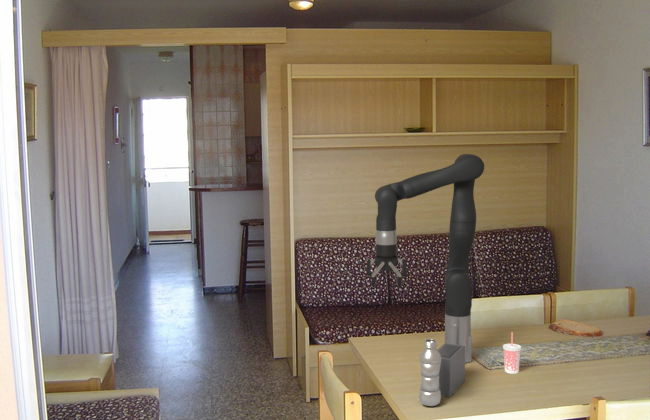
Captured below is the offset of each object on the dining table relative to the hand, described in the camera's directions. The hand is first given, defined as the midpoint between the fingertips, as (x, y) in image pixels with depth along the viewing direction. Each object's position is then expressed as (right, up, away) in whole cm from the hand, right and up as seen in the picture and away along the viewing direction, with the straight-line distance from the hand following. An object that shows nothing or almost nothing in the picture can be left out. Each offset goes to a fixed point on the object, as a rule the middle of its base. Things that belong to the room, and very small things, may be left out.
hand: (386, 287), depth 239 cm
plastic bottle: (+10, -32, -35) cm, 49 cm away
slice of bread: (+83, -24, +40) cm, 95 cm away
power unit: (+18, -30, -21) cm, 41 cm away
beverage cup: (+43, -29, -7) cm, 52 cm away
